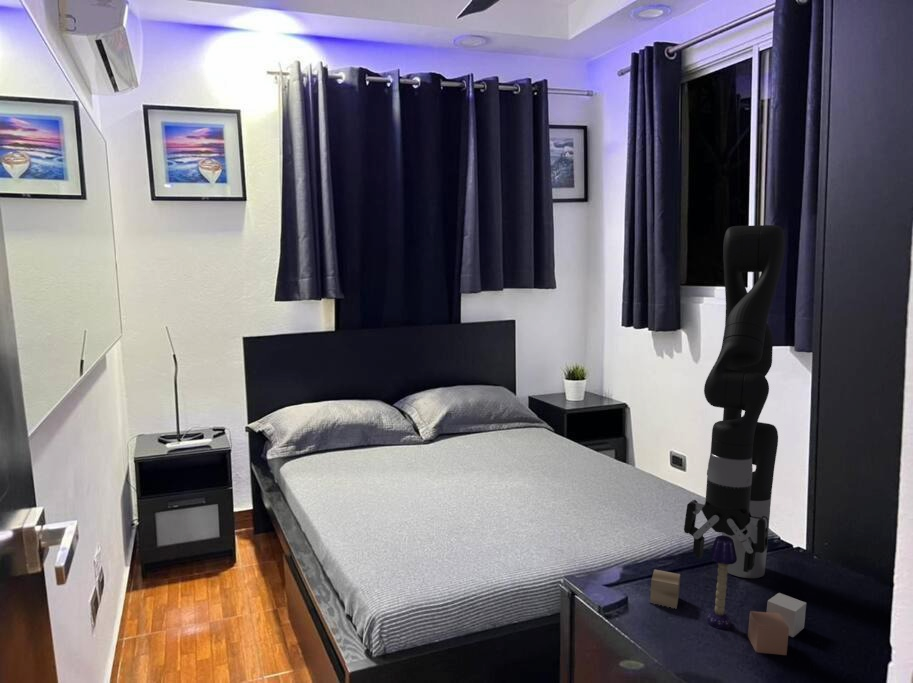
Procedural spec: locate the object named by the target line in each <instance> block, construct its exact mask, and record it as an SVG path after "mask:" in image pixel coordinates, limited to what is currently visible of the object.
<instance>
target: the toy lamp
mask: <svg viewBox="0 0 913 683" xmlns="http://www.w3.org/2000/svg"><path fill="white" fill-rule="evenodd" d="M709 557H710V560H712V561H714V562H715V563H717V565H718V568H717V576H716V580H717V583H716V591H715V600H714V602H715V603H714V604H715V606H714V610H713V611H711V612H710V613H709V614H708V615H707V618H706V621H707V623H708V624H709V625H711V627H714V628H716V627H718V628H717V629H723V630H724V629H729V628H731V626H732V621H731V619H730V617H729V615H728V614H727V613H725V611H726V609H725V606H726V598H727V592H726V591H727V587H728V585H727V582H728V574H729V573H728V569H727V567H728V564H734V563H735V562H736V561H737V556H736V551H735V546H734V542H733V539H732V538H730V537H728V536H722V534H721V535H717V536H716V537H715V539H714V542H713V544H712V547H711V550H710V552H709Z"/></svg>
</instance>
